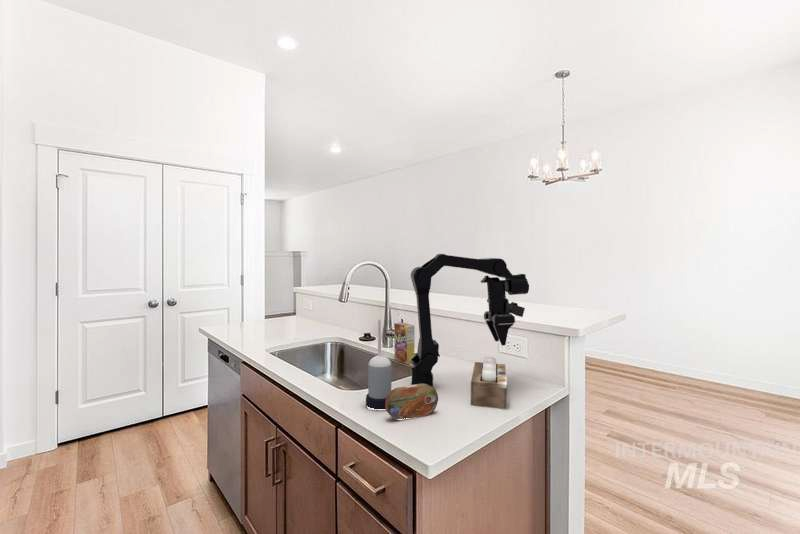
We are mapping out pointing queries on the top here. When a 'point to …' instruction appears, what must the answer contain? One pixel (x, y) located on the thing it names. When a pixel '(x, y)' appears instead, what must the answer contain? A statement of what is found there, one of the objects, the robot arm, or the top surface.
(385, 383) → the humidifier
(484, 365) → the middle button
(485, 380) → the button
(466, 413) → the top surface
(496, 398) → the brown compartment box
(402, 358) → the candy box
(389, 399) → the tin
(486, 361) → the button
